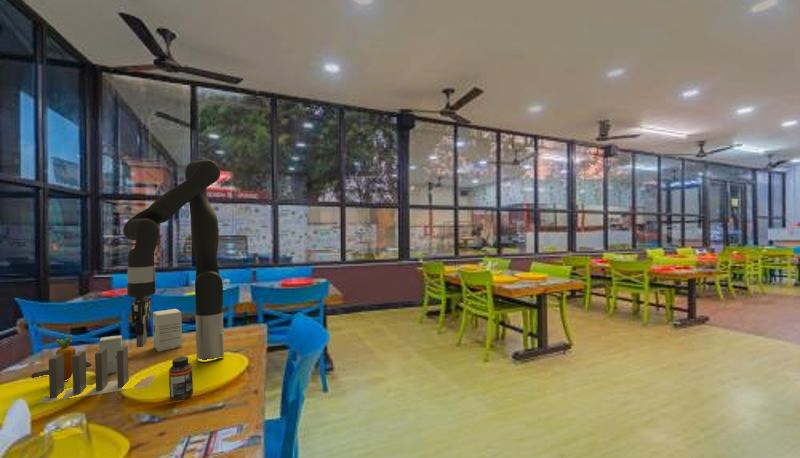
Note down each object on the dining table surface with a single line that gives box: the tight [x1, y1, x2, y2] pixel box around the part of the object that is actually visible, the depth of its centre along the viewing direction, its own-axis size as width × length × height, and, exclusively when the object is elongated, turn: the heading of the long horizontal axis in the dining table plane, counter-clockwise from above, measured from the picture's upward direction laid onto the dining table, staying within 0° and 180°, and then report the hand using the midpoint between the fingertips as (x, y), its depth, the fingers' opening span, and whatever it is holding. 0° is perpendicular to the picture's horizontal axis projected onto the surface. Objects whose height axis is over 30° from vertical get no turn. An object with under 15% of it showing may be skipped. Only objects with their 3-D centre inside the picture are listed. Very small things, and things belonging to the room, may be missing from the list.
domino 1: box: [72, 350, 87, 395], centre depth 114 cm, size 2×5×12 cm, turn 22°
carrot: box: [55, 334, 77, 380], centre depth 123 cm, size 5×5×15 cm
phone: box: [31, 360, 92, 378], centre depth 133 cm, size 7×1×15 cm
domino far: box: [48, 353, 65, 398], centre depth 112 cm, size 2×5×12 cm, turn 23°
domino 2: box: [94, 348, 109, 391], centre depth 117 cm, size 2×5×12 cm, turn 22°
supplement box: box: [152, 308, 183, 353], centre depth 158 cm, size 9×9×15 cm
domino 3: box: [116, 345, 130, 388], centre depth 119 cm, size 2×5×12 cm, turn 22°
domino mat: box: [38, 374, 157, 404], centre depth 117 cm, size 27×10×1 cm, turn 112°
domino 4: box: [136, 311, 148, 348], centre depth 121 cm, size 2×5×12 cm, turn 22°
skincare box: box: [99, 334, 123, 375], centre depth 131 cm, size 6×4×12 cm
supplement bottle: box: [168, 355, 194, 401], centre depth 110 cm, size 6×6×11 cm
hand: (141, 332), depth 121 cm, fingers closed on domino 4, 5 cm apart
